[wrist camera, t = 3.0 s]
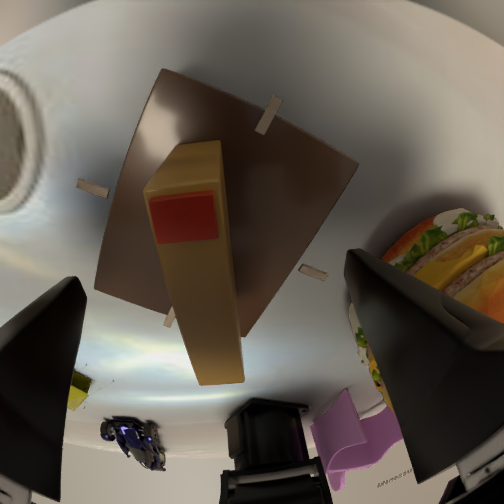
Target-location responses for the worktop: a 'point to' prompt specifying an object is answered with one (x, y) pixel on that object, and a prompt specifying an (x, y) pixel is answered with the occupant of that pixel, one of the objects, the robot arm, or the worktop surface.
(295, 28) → the worktop surface
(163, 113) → the tap plate
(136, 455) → the toy car
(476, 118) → the worktop surface
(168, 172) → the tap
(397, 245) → the burger
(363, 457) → the toy chair
